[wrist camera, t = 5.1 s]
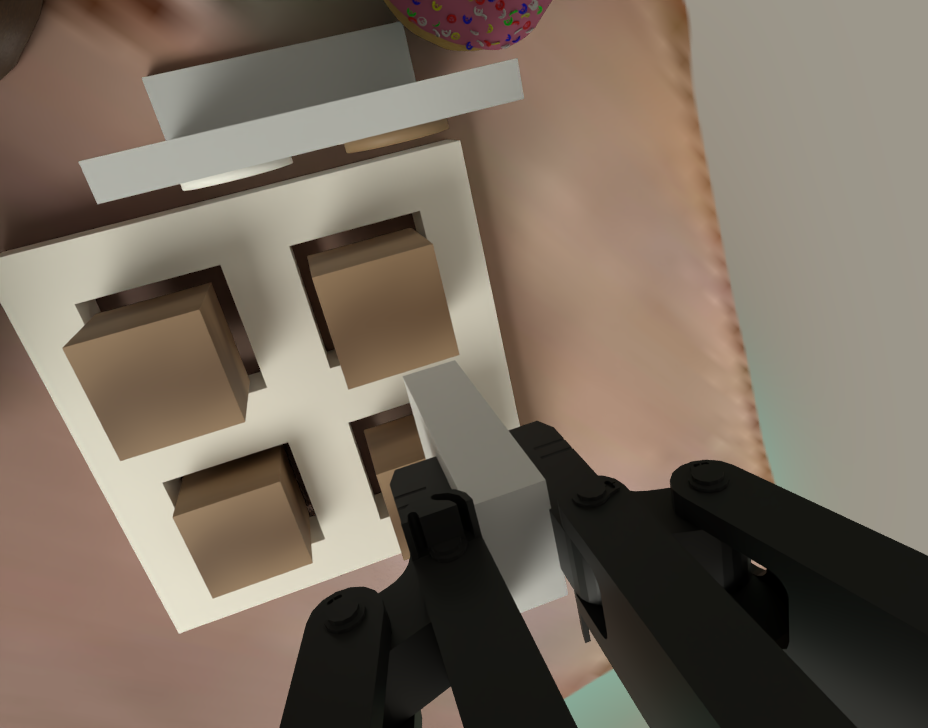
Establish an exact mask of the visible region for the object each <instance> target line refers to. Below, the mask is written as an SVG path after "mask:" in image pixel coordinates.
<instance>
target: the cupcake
mask: <svg viewBox="0 0 928 728" xmlns="http://www.w3.org/2000/svg"><path fill="white" fill-rule="evenodd" d="M551 1H552V0H384V2H385V3H386V5H387V6H388V8H389V9H390V10H391V12H392V13H393V14H394V15H395V16H396V18H397V19H398V20H399V21H400V22H401V23H402V24H403V25H404V26H405V27H406V28H407V29H409V30H410V31H411V32H412V33H414V34H415V35H417V36H419V37H421V38H423V39H425V40H427V41H429V42H432V43H434V44H436V45H438V46H440V47H442V48H445V49H448V50H455V51H475V50H482V49H487V50H499V49H504V48H508V47H510V46H511V45H513V44H515V43H517V42H518V41H520V40H522V39H523V38H525V37H526V36H527V35H528V34H529V33H531V32H532V31H533V29H534V28H535V27H536V25H537V24H538V22H539V20H540V19H541V17H542V15H543V14H544V12H545V11H546V9H547V7H548V6H549V4H550V3H551Z"/></svg>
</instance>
